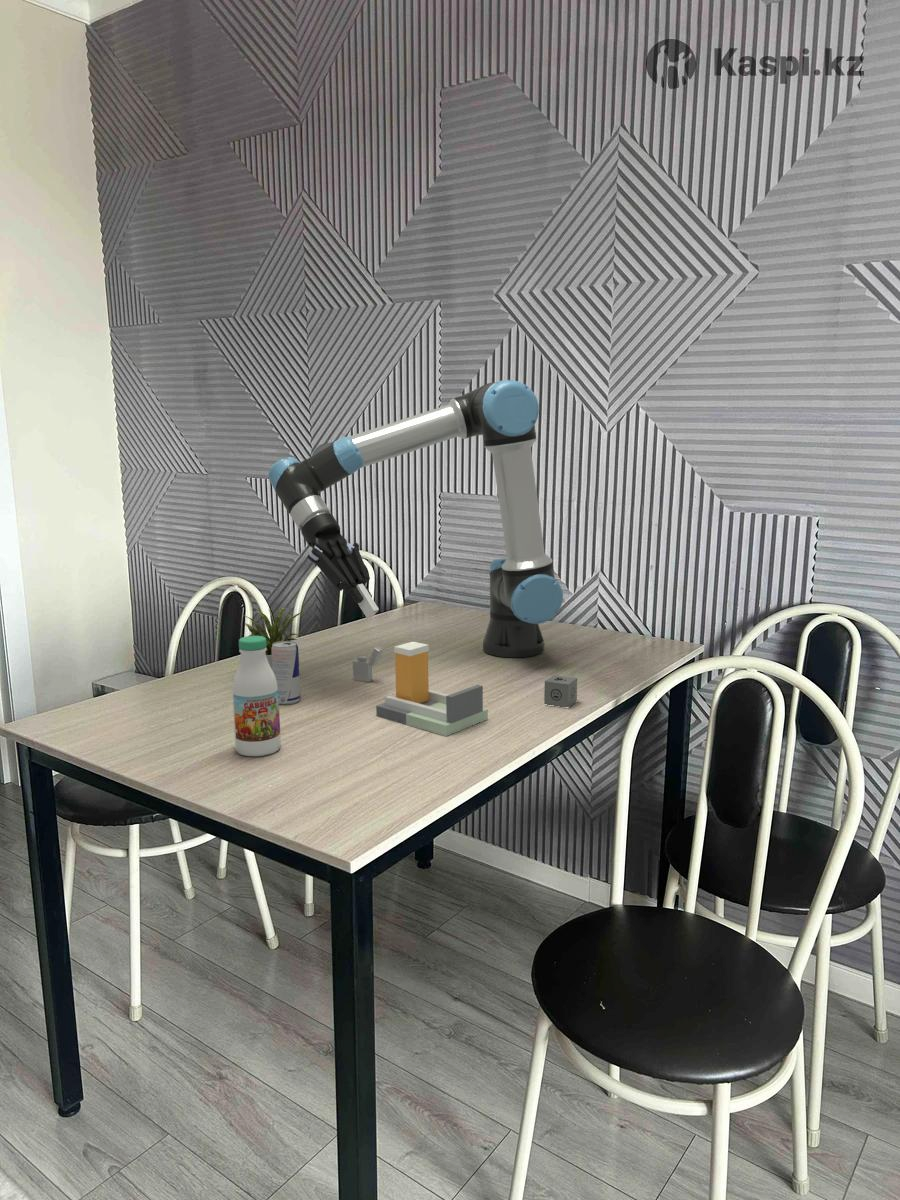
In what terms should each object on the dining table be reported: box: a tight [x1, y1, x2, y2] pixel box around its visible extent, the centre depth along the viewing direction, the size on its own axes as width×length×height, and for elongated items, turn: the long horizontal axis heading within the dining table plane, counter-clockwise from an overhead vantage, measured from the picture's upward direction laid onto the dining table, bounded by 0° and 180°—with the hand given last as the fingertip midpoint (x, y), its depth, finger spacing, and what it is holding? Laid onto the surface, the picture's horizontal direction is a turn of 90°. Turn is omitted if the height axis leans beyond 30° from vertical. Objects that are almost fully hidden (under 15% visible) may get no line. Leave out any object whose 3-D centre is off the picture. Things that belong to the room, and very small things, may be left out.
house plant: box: [244, 606, 307, 671], centre depth 197 cm, size 14×14×16 cm
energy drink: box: [271, 640, 301, 705], centre depth 181 cm, size 5×5×12 cm
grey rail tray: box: [375, 684, 489, 737], centre depth 170 cm, size 18×12×7 cm, turn 49°
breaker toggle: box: [393, 641, 430, 704], centre depth 172 cm, size 4×5×11 cm
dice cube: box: [543, 674, 578, 708], centre depth 178 cm, size 5×5×5 cm
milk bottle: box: [232, 635, 282, 757], centre depth 153 cm, size 8×8×20 cm
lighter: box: [352, 645, 384, 683], centre depth 194 cm, size 7×2×8 cm, turn 63°
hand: (373, 613), depth 178 cm, fingers closed
